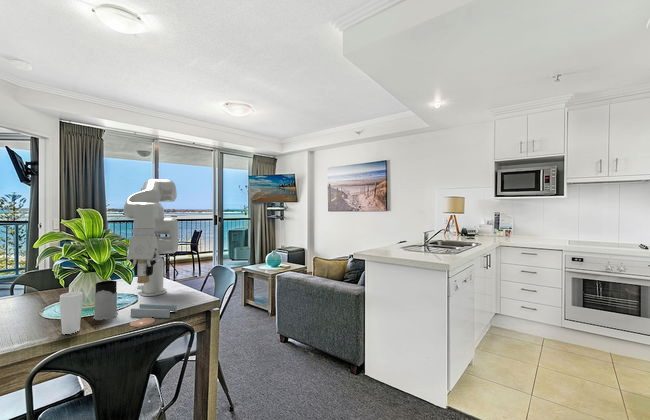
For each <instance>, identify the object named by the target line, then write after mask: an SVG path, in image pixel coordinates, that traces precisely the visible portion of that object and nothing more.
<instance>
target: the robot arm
mask: <svg viewBox="0 0 650 420" xmlns="http://www.w3.org/2000/svg"><path fill="white" fill-rule="evenodd" d="M177 192H178V191H177V187H176V184H175V182H174V181H173V180H170V179H164V178H163V179H161V178H159V179H158V178H150V179H147V180H146V181H145V182H143V185H142V187H141V189H140V191H138V192H136V193H133V194H132V195H130V196H128V197H127V199H126V201H125V204H124V206H123V215H124V217H125V218H126V219H128V220H133V229H132V228H131V230H130V231H131V232H130V233H133V235H131V237H130V238H129V239H130V240H129V245H128V254H127V255H126V260H128V261H129V262H130V264H131V265H132V266H133V273H134V274H133V275H134V276H135V277H136V276H138V275H137V269H138V260H147V264H148V267H147V268H146V276H149V280H150V281H149V282H148V283H143V285H142V284H138V285H137V287H136V289H137V290H140V293H139V295H140V296H142V297H156V296H160V295H163V294H166V292H167V288H165V287H164V272H165V271H164V265H165V263H164V259H163V257H161V255H162V254H163V255H164V254H174V253H176V252H177V251H178V250H179V222H178V221H179V220H177V219H176V218H175V217H165V208H164V207H163V205H162V204H161V203H162V202H164V203H165V202H166V203H170V202H171V203H172V202H175V201H176V199H177V194H178V193H177ZM157 235H169V236H157Z"/></svg>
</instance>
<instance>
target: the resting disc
mask: <svg viewBox="0 0 650 420" xmlns="http://www.w3.org/2000/svg"><path fill="white" fill-rule="evenodd" d="M141 318H142V319H141V320H137V321H134V320H133V321H134V322H132V321H131V322H129V326H130V327H131V328H142V327H146V326H149V325H152V324H154V323H155V322H156V318H152V317H141Z"/></svg>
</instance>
